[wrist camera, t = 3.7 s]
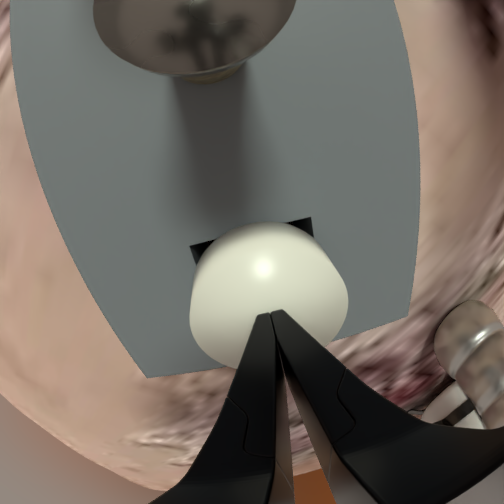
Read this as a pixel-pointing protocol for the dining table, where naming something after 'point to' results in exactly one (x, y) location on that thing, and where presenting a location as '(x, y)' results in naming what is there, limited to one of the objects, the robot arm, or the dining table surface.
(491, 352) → the plastic bottle
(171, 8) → the metal screw
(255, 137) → the mount
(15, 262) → the dining table surface
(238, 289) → the knob
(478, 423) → the coffee press
